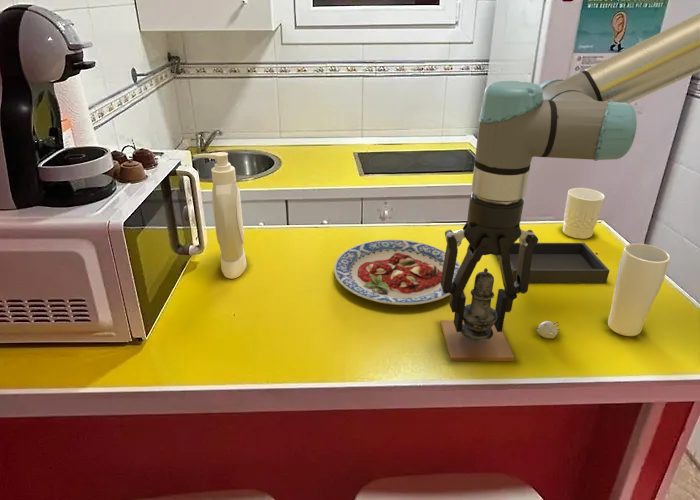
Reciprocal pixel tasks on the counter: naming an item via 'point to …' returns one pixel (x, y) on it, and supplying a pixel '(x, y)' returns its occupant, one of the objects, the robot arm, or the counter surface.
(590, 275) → the tray
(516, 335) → the counter surface
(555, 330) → the cream rounded lump
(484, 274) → the salt shaker
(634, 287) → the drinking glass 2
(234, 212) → the soap bottle
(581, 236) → the white cup
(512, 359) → the cork mat
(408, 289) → the ceramic plate
